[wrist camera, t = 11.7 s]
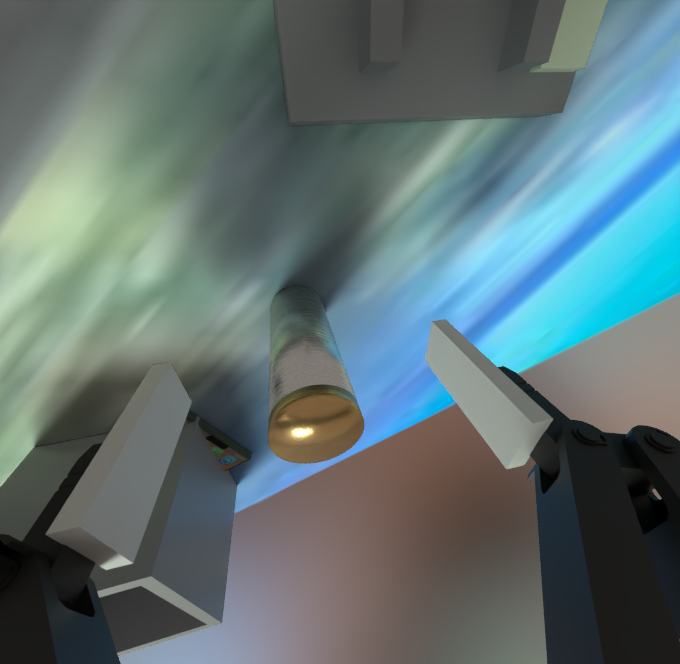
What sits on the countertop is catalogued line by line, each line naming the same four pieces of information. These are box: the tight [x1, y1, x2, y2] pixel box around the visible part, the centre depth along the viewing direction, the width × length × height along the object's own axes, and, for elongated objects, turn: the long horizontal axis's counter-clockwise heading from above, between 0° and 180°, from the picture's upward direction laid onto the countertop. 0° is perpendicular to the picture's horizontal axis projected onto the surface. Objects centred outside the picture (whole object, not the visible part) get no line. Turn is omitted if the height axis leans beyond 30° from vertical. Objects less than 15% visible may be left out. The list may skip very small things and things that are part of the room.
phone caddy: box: [0, 415, 237, 656], centre depth 19 cm, size 12×12×10 cm
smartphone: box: [184, 411, 251, 471], centre depth 23 cm, size 8×15×1 cm, turn 117°
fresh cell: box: [268, 286, 364, 464], centre depth 14 cm, size 4×4×10 cm
